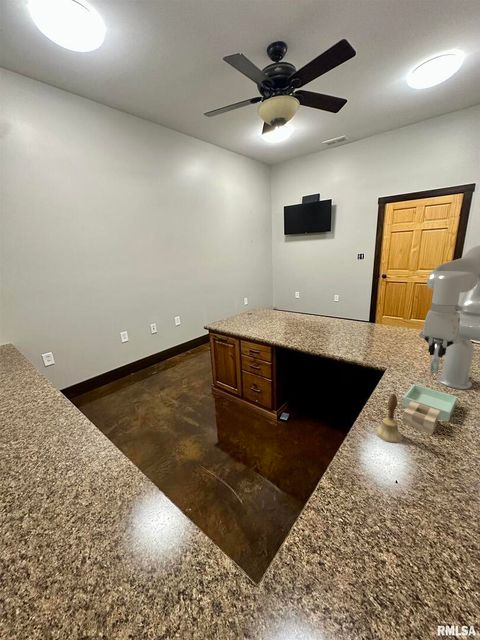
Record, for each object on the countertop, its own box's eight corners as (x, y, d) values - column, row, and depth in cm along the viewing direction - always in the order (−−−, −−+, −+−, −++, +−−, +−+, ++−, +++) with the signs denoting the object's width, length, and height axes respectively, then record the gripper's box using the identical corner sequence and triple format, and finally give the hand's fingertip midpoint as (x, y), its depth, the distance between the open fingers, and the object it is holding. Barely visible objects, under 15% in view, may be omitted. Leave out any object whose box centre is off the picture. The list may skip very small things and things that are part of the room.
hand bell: (404, 433, 90) (410, 392, 85) (399, 446, 84) (404, 404, 80) (379, 423, 95) (382, 385, 91) (371, 435, 89) (375, 395, 85)
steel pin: (429, 367, 102) (433, 336, 98) (441, 370, 99) (446, 338, 96) (426, 371, 99) (431, 338, 96) (438, 374, 97) (444, 341, 93)
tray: (412, 392, 113) (413, 384, 112) (455, 405, 103) (457, 396, 101) (401, 405, 104) (402, 397, 103) (448, 422, 94) (449, 412, 93)
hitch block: (409, 412, 100) (411, 400, 99) (438, 422, 94) (440, 410, 92) (402, 423, 95) (403, 411, 93) (431, 434, 88) (433, 422, 87)
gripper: (474, 309, 89) (465, 357, 94) (420, 304, 101) (414, 347, 106) (471, 313, 85) (461, 364, 89) (414, 307, 96) (408, 353, 101)
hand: (436, 355), depth 97 cm, fingers closed on steel pin, 2 cm apart
